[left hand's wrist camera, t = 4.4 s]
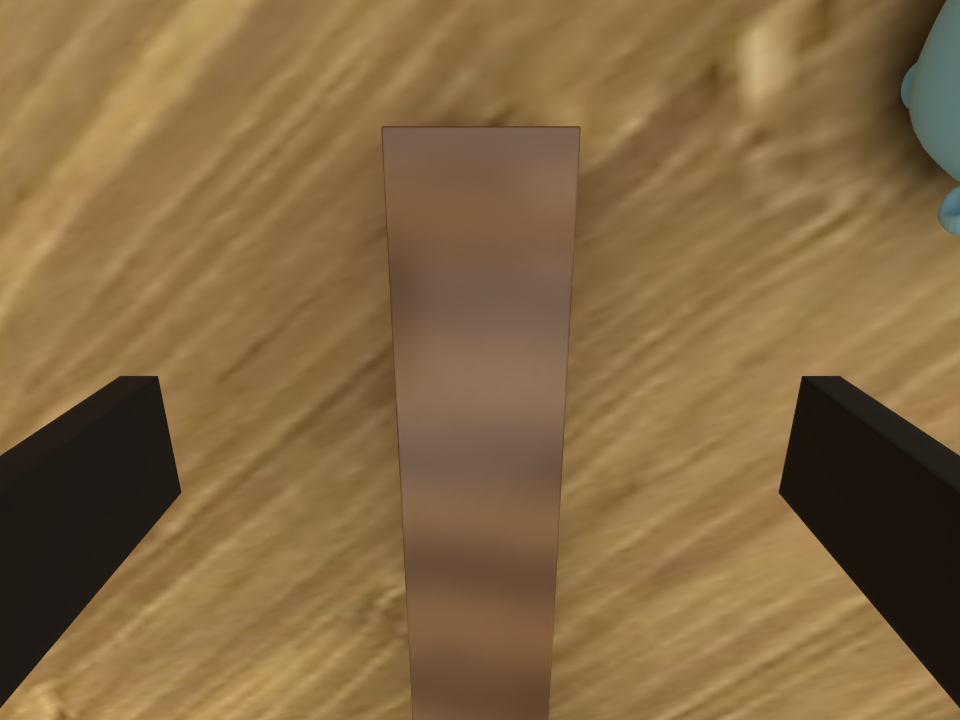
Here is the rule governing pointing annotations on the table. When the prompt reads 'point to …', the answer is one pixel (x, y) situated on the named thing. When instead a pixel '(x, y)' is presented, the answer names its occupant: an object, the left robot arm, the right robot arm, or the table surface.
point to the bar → (480, 404)
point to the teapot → (939, 103)
